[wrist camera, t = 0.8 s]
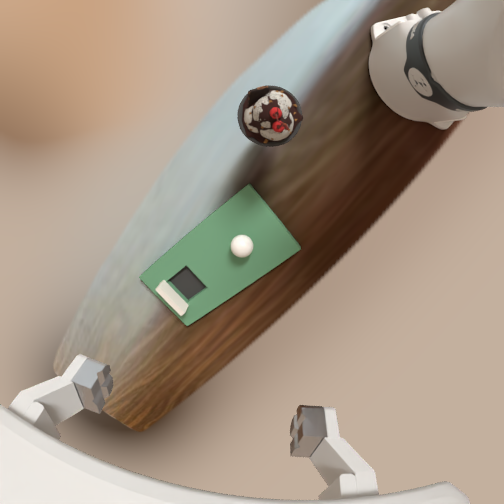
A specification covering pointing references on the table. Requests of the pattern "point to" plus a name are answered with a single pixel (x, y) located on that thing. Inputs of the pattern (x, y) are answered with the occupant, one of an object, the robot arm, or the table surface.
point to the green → (220, 257)
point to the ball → (241, 246)
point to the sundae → (269, 116)
